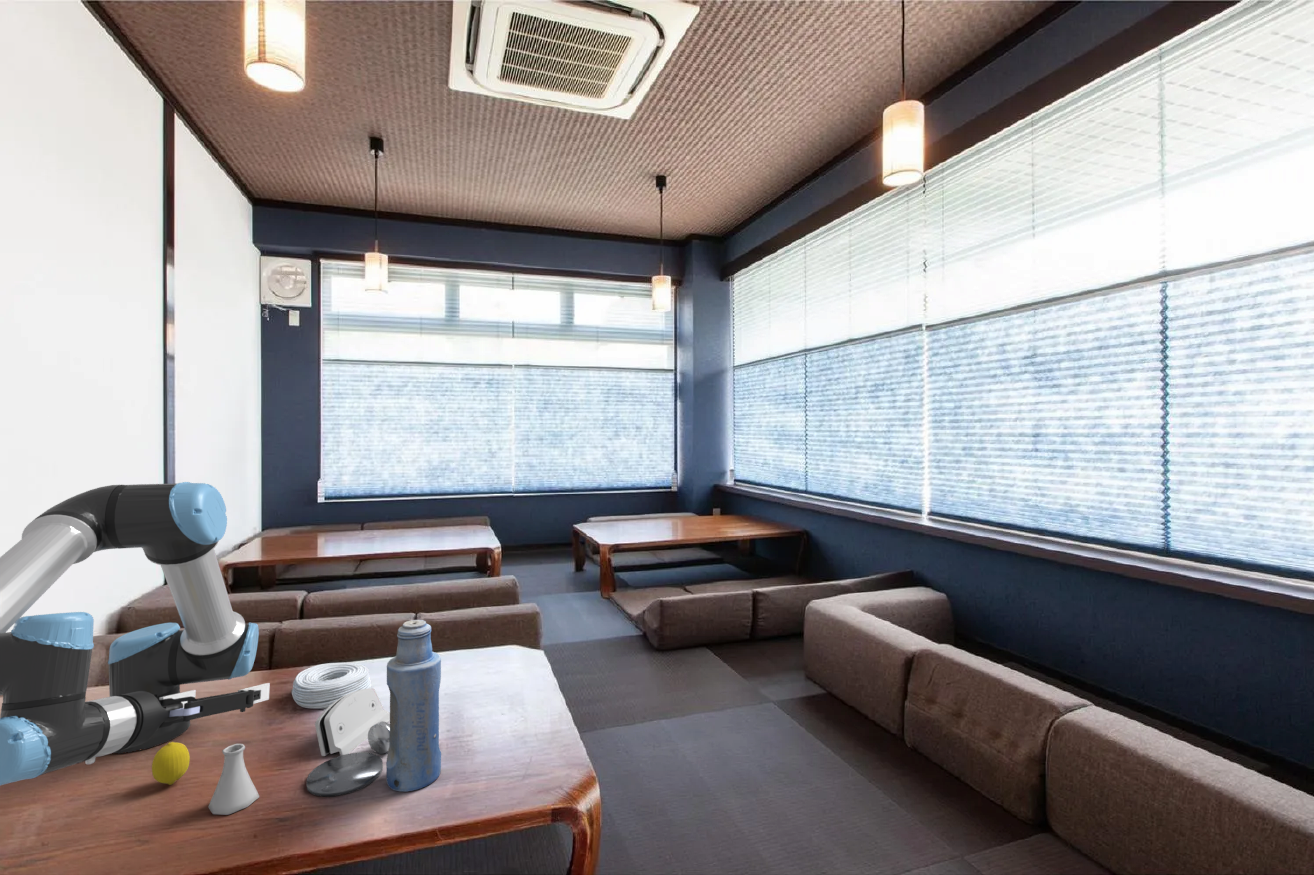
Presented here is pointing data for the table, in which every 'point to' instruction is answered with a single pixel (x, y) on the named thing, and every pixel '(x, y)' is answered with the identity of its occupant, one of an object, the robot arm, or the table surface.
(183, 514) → the robot arm
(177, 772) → the lemon
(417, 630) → the bottle
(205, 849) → the table surface
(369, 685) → the cable
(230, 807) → the flask
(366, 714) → the white flat angled piece
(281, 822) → the table surface
